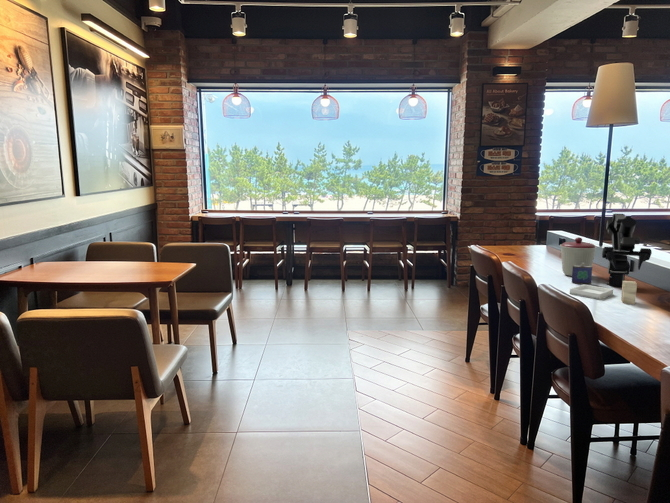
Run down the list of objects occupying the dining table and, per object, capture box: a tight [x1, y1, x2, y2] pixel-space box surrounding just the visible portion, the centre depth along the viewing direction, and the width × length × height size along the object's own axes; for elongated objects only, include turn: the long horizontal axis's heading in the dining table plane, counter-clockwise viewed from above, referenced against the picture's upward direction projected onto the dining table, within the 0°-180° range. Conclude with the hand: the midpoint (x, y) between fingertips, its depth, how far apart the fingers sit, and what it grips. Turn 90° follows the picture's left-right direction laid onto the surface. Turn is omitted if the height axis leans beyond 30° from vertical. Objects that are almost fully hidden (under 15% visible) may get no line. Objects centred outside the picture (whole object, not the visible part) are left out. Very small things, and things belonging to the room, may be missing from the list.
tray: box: [569, 284, 614, 301], centre depth 219 cm, size 13×13×2 cm
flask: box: [571, 263, 593, 285], centre depth 240 cm, size 9×3×11 cm, turn 78°
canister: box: [559, 237, 598, 277], centre depth 258 cm, size 18×18×21 cm
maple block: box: [620, 280, 638, 305], centre depth 205 cm, size 5×5×9 cm
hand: (627, 268), depth 211 cm, fingers open, 9 cm apart
